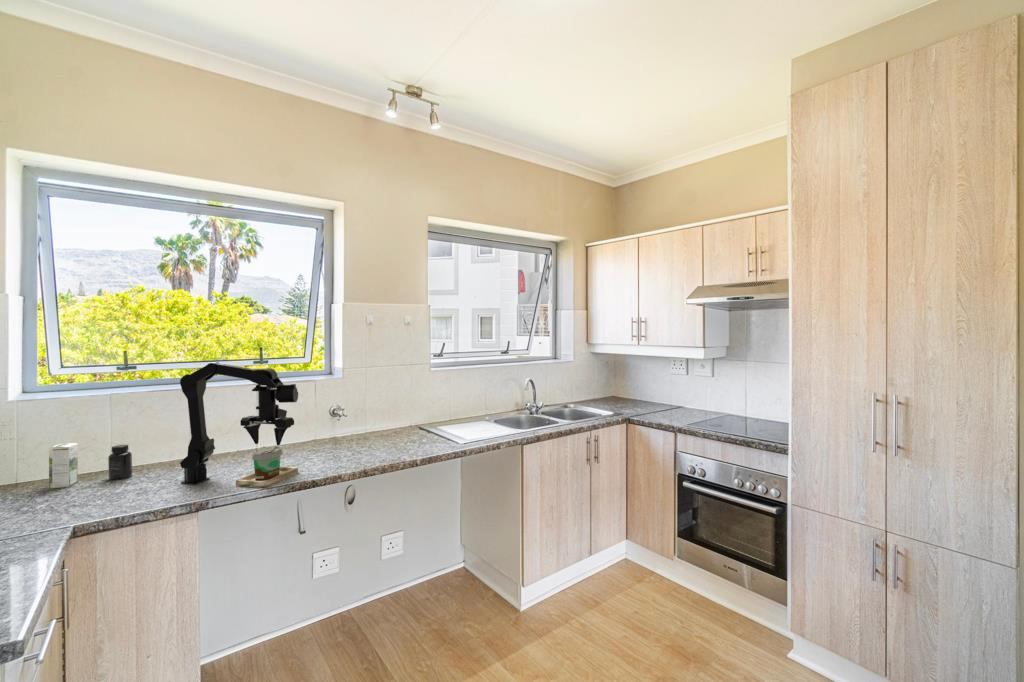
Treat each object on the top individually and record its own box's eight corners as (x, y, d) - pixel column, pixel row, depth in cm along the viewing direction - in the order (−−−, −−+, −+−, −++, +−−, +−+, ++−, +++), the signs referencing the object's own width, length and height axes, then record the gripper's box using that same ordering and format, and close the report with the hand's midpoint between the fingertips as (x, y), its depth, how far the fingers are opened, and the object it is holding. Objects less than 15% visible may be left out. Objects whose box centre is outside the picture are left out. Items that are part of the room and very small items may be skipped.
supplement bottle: (136, 475, 177) (136, 444, 177) (117, 481, 171) (116, 448, 170) (123, 474, 179) (123, 443, 179) (103, 479, 173) (103, 447, 172)
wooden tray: (235, 485, 166) (235, 480, 166) (271, 470, 184) (271, 465, 184) (265, 488, 164) (265, 482, 164) (298, 472, 182) (298, 467, 182)
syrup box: (57, 483, 168) (57, 443, 168) (78, 481, 170) (77, 442, 170) (48, 488, 163) (47, 447, 162) (70, 486, 165) (69, 446, 164)
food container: (267, 483, 168) (267, 455, 167) (252, 481, 169) (252, 454, 169) (290, 472, 180) (289, 446, 180) (275, 471, 181) (275, 446, 181)
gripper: (303, 400, 179) (303, 440, 180) (260, 398, 183) (261, 438, 184) (283, 405, 169) (284, 448, 169) (238, 403, 172) (239, 445, 173)
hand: (267, 444), depth 174 cm, fingers open, 9 cm apart
